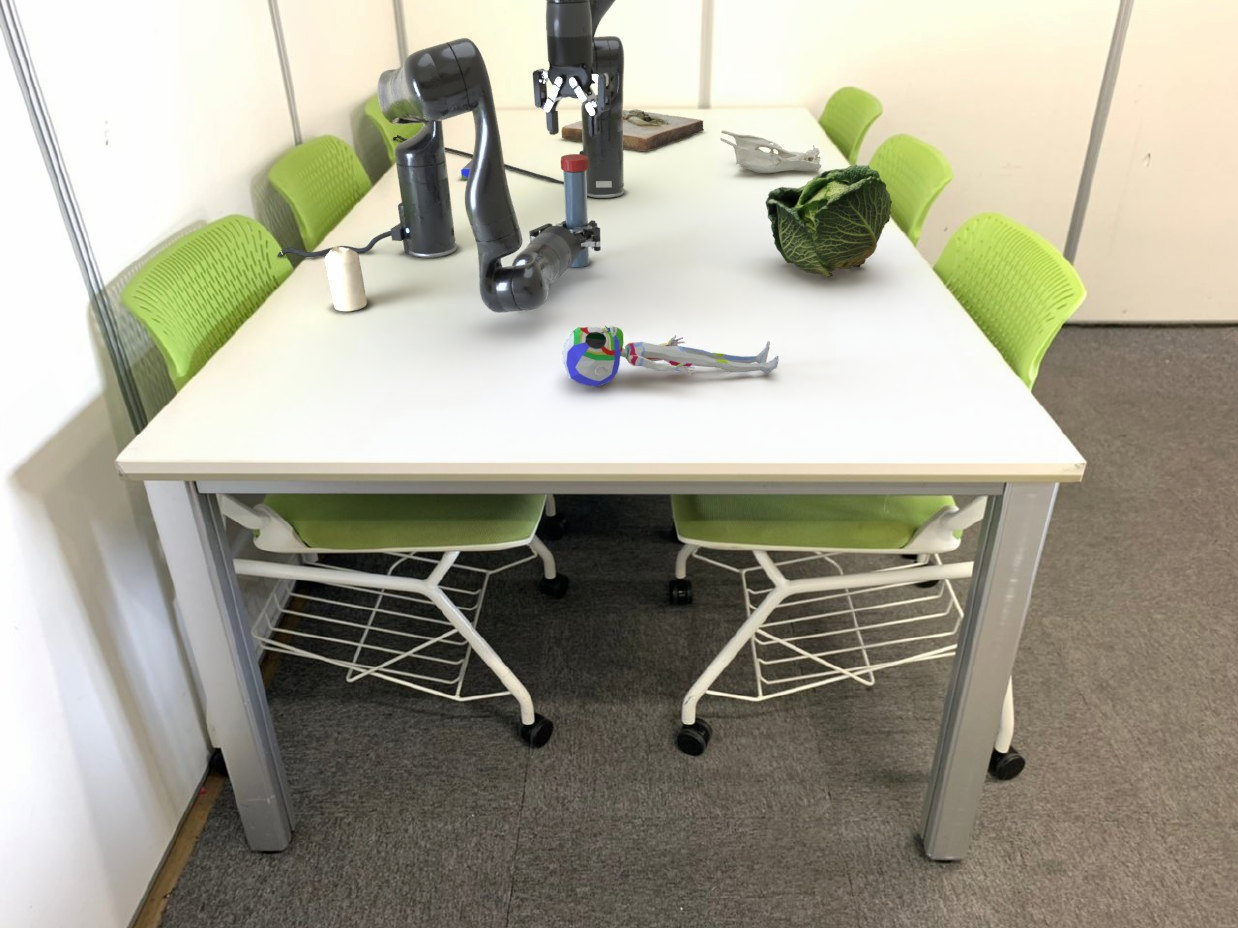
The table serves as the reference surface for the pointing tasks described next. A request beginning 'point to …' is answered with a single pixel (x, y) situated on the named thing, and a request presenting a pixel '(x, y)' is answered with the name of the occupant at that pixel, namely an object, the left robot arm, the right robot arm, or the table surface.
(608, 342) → the toy
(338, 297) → the candle
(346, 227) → the table surface
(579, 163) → the lid
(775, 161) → the anatomical model
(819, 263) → the vegetable
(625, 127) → the plaque
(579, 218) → the blue cylindrical tube
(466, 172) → the pillar
